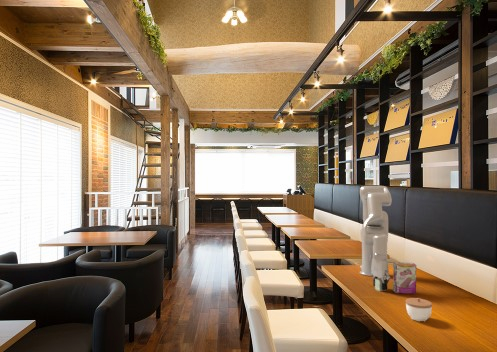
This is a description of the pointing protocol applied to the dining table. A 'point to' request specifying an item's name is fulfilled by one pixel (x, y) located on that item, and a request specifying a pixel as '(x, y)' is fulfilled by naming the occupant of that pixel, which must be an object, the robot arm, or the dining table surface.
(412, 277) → the candy bar box
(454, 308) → the dining table surface
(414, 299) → the lidded jar
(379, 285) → the sage block
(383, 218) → the robot arm
